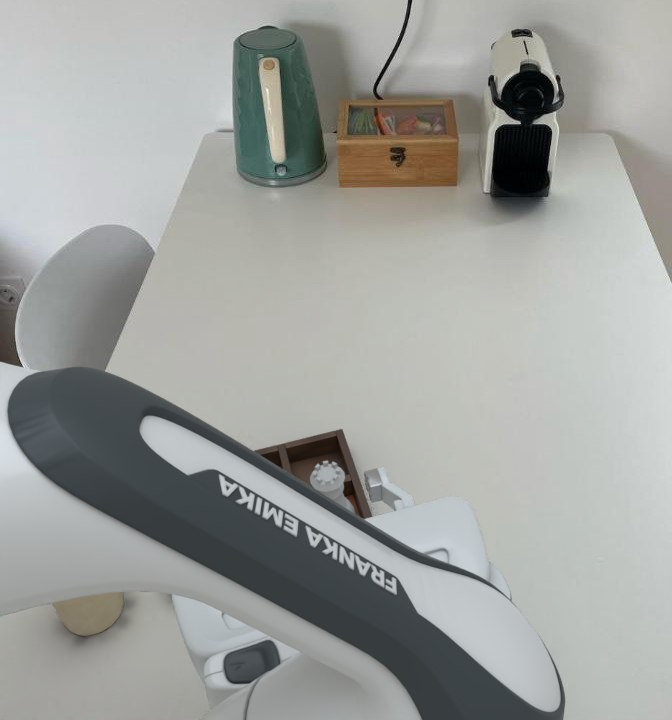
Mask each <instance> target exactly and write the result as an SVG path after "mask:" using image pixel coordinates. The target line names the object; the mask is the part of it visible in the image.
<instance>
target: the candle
mask: <svg viewBox="0 0 672 720" xmlns="http://www.w3.org/2000/svg"><path fill="white" fill-rule="evenodd" d="M50 604H51V605H52V607H53V609H54V610H55V612H56V613H57V615H58V616H59V618H60V620H61V621H62V623H63V624H64V626H65V627H66V629H68V630H69V631H70V632H71V633H73V634H75V635H78V636H82V637H83V636H93V635H97V634H99V633H102V632H103V631H105V630H107V629H109V628H110V627H111V626H112V625H114V623H116V621H117V620H118V619H119V618H120V616H121V614H122V612H123V609H124V606H125V605H124V604H125V599H124V594H123V592H116V593H105V594H97V595H90V596H83V597H78V598H73V599H68V600H63V601H59V602H54V603H50Z"/></svg>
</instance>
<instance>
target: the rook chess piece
mask: <svg viewBox="0 0 672 720" xmlns="http://www.w3.org/2000/svg"><path fill="white" fill-rule="evenodd" d="M344 480H345V474H344V471H343V470H342V469H341V468H340V467H338V466H337V463H335V462H332V464H328V461H323V465H321V466H320V465H319V464H317V465H316V466H315V470H314V471H313V472H312V474H311V477H310V482H311V484H312V486H313V487H314V489H316V490H317V491H319V492H321V493H322V494H324V495H325V496H327V497H329V498H330V499H332V500H333V501H335V502H337V503H338V504H340V505H342V506H343V507H345V508H346V509H348V510H350V511H351V512H353V513H355V510H354V507H353V505H352V504H351V502H350V501H349V500H348V499H346V497H344V494H343V489H344V484H343V482H344ZM355 514H356V513H355Z"/></svg>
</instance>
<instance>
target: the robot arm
mask: <svg viewBox="0 0 672 720" xmlns="http://www.w3.org/2000/svg"><path fill="white" fill-rule="evenodd" d="M363 476H364V485H365V489H366V491H367V493H368V497H369V500H370V503H371V504H374V503H377V502H383V503H384V504H386V506H388V507H389V508H390V509H392V511H389V512H385V513H382V514H378V515H375V516H372V517H370V518H366V519H363V518H361V517H359V516H358V515H356V514H355V513H353V512H351V511H350V510H348V509H346V508H345V507H343V506H342V505H340V504H338V503H337V502H335V501H333V500H332V499H330V498H329V497H327V496H325V495H324V494H322V493H321V492H319V491H317V490H316V489H314V488H312V487H311V486H309V485H308V484H306V483H304V482H303V481H301V480H300V479H298V478H296V477H295V476H293V475H291V474H290V473H288V472H287V471H285V470H283V469H282V468H280V467H279V466H277V465H275V464H274V463H272V462H270V461H269V460H267V459H266V458H264V457H262V456H261V455H259V454H257V453H256V452H254V450H253V449H251V448H250V447H248V446H246V445H244V444H243V443H242V442H239V441H238V440H236V439H234V438H233V437H231V436H230V435H228V434H226V433H224V432H223V431H221V430H219V429H218V428H216V427H215V426H213V425H211V424H209V423H208V422H206V421H204V420H202V419H201V418H199V417H197V416H196V415H194V414H192V413H191V412H189V411H187V410H185V409H184V408H182V407H180V406H178V405H177V404H175V403H174V402H171V401H169V400H167V399H165V398H164V397H162V396H160V395H158V394H156V393H154V392H152V391H150V390H149V389H146V388H144V387H143V386H140V385H138V384H136V383H135V382H132V381H130V380H128V379H126V378H123V377H121V376H118V375H116V374H114V373H112V372H108V371H105V370H102V369H98V368H94V367H89V366H70V367H64V368H56V369H48V370H38V369H33V368H28V367H23V366H19V365H14V364H10V363H7V362H4V361H0V618H1V617H4V616H9V615H11V614H12V615H13V614H15V613H19V612H23V611H26V610H30V609H33V608H38V607H42V606H46V605H48V604H49V605H50V604H51V603H54V602H59V601H63V600H68V599H73V598H78V597H83V596H90V595H97V594H105V593H116V592H122V593H129V592H136V593H137V592H138V593H139V592H140V593H141V592H142V593H143V592H144V593H146V592H147V593H159V594H165V595H170V596H171V602H172V606H173V607H172V608H173V611H174V615H175V618H176V622H177V626H178V629H179V631H180V632H179V633H180V634H181V637H182V641H183V643H184V645H185V648H186V651H187V653H188V656H189V658H190V661H191V663H192V665H193V667H194V669H195V671H196V673H197V676H198V677H199V679H200V680H201V682H202V684H203V685H204V690H205V695H206V699H207V702H208V705H209V708H210V710H208V711H207V712H206V713H205V714H203V716H201V717H200V718H199V719H198V720H564V718H565V708H566V694H565V693H566V692H565V687H564V685H563V681H562V678H561V675H560V673H559V670H558V668H557V665H556V663H555V661H554V659H553V657H552V654H551V653H550V651H549V649H548V648H547V646H546V645H545V644H546V643H545V642H544V641H543V640H542V638H541V636H540V635H539V632H537V630H536V629H535V627H534V626H533V625H532V623H531V622H530V620H529V619H528V618H527V617H526V615H525V614H524V613H523V612H522V610H520V608H519V607H518V606H517V605H516V604H515V603H514V602H513V596H512V590H511V589H510V586H509V585H508V582H507V580H506V578H505V576H504V574H503V572H502V571H501V569H500V567H498V566H497V565H496V564H495V563H492V562H490V561H489V555H488V550H487V546H486V543H485V539H484V535H483V532H482V528H481V526H480V523H479V520H478V517H477V514H476V512H475V509H474V508H473V505H472V504H471V502H470V501H467V500H465V499H464V498H462V497H460V496H457V495H448V496H444V497H441V498H438V499H433V500H430V501H427V502H423V503H419V504H416V502H415V500H414V497H413V495H412V494H411V493H409V492H407V491H406V490H404V489H403V488H401V487H400V486H399V485H397V484H396V483H394V482H390V479H389V476H388V473H387V471H386V468H385V467H384V466H381V467H376V468H372V469H369V470H365V471H363Z"/></svg>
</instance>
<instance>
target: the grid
mask: <svg viewBox="0 0 672 720" xmlns="http://www.w3.org/2000/svg"><path fill="white" fill-rule="evenodd" d="M253 451H254V452H256V453H257V454H259V455H261V456H262V457H264V458H266V459H267V460H269V461H270V462H272V463H274V464H275V465H277V466H279V467H280V468H282V469H283V470H285V471H287V472H288V473H290V474H291V475H293V476H295V477H296V478H298V479H300V480H301V481H303V482H304V483H306V484H308V485H309V486H311V487H312V488H314V487H313V486H312V484H311V482H310V477H311V474H312V472H313V471H314V470H315V466H316V465H317V464H319V465H320V466H321V465H323V461H328V464H332V462H335V463H337V466H338V467H340V468H341V469H342V470H343V471H344V474H345V480H344V482H343V484H344V489H343V494H344V497H346V499H348V500H349V501H350V502H351V504H352V505H353V507H354V510H355V513H356V515H358V516H359V517H361V518H363V519H366V518H370V517H373V514H372V510H371V508H370V505H369V503H368V499H367V497H366V493H365V490H364V488H363V485H362V482H361V479H360V476H359V473H358V470H357V467H356V465H355V462H354V458H353V456H352V453H351V449H350V447H349V444H348V441H347V438H346V434H345V433H344V429H343V428H339V429H335V430H332V431H327V432H324V433H320V434H319V433H318V434H315V435H311V436H307V437H303V438H299V439H295V440H290V441H286V442H284V443H280V444H279V443H278V444H275V445H271V446H267V447H262V448H258V449H254V450H253Z"/></svg>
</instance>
